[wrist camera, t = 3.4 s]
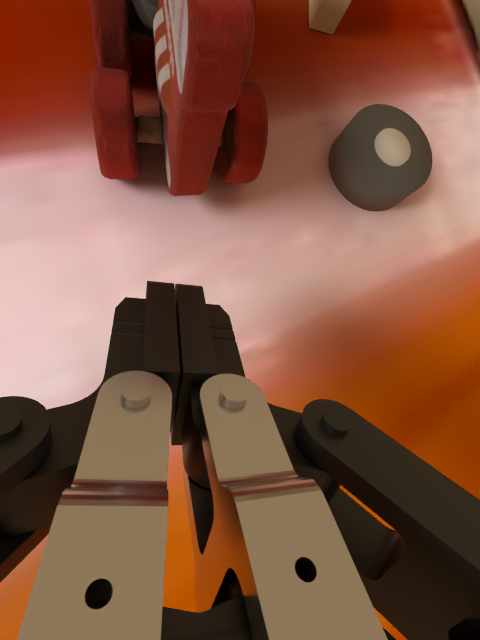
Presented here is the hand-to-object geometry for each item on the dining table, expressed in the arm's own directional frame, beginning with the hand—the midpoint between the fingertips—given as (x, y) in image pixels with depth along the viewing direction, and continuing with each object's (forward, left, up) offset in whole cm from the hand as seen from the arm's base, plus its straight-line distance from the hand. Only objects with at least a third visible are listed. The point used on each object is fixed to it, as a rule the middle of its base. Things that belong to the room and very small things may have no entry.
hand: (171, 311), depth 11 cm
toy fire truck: (-11, +4, -6) cm, 13 cm away
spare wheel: (-6, +14, -6) cm, 16 cm away
